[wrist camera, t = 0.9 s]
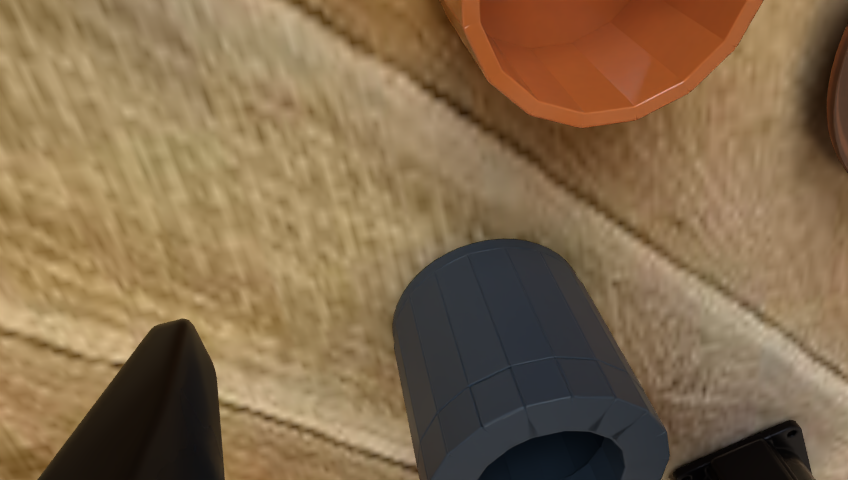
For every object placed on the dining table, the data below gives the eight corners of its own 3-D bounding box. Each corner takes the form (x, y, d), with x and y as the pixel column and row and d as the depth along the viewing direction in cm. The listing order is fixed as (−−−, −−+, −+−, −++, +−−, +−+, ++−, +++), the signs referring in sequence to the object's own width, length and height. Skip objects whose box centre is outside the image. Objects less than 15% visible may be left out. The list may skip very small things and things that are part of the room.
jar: (605, 334, 28) (694, 493, 22) (442, 410, 29) (485, 583, 23) (543, 203, 24) (633, 356, 18) (355, 298, 25) (379, 474, 19)
